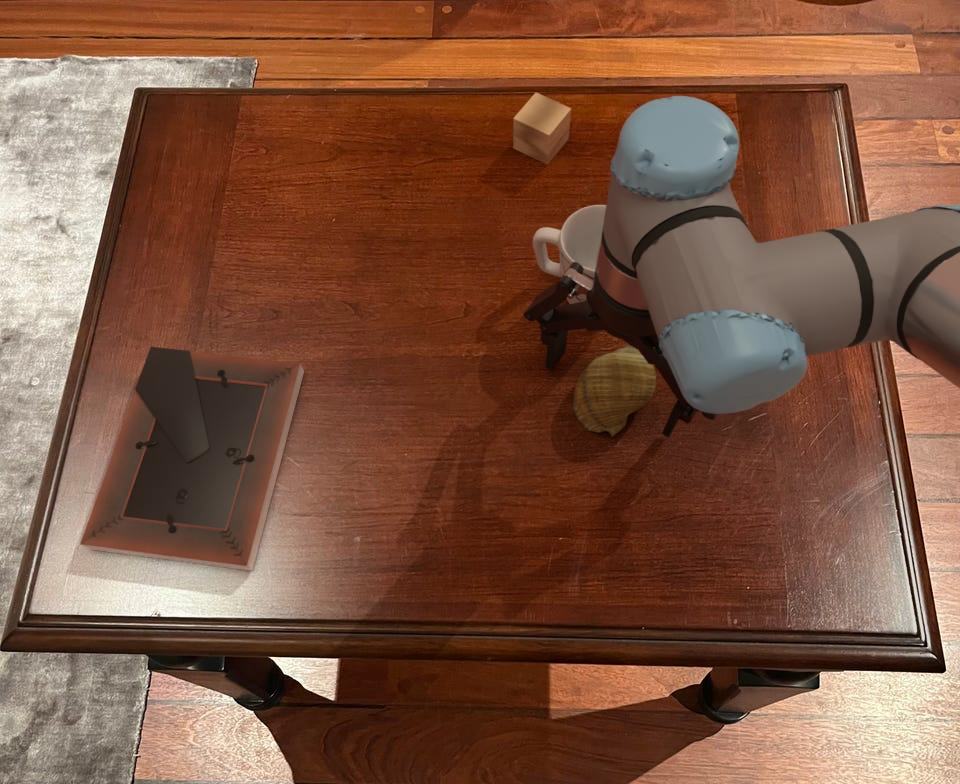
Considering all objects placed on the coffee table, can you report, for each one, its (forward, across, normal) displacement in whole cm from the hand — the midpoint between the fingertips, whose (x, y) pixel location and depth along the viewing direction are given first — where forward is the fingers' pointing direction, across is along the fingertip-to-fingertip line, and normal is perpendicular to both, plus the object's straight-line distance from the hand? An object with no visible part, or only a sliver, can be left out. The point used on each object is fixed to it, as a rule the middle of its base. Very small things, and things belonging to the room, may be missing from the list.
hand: (612, 392), depth 82 cm
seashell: (+2, 0, 0) cm, 2 cm away
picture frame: (+2, +32, +28) cm, 42 cm away
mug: (+2, +10, -10) cm, 14 cm away
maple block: (+2, +25, -26) cm, 36 cm away
